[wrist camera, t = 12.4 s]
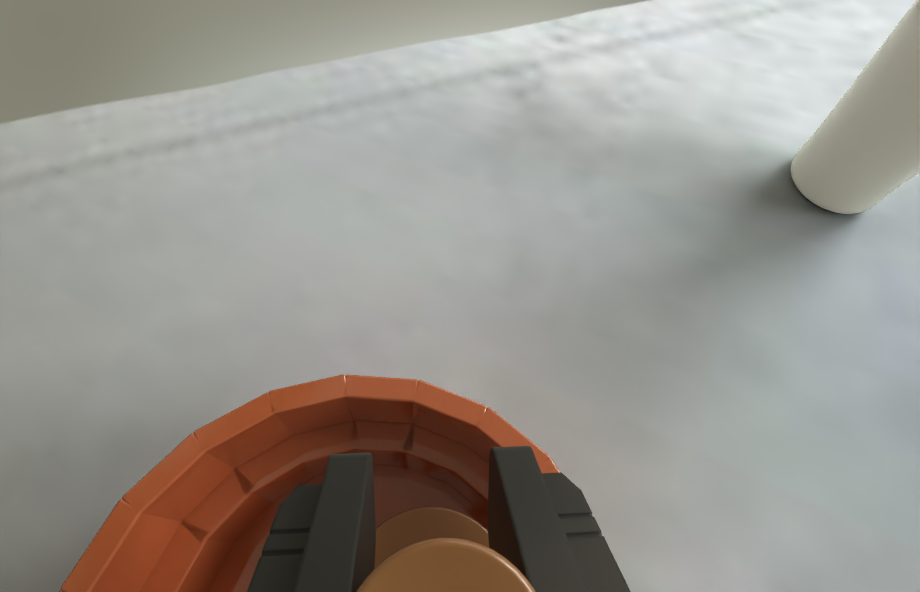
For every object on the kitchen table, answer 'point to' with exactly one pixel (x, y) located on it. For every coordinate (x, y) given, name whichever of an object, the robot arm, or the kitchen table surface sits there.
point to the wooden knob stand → (439, 556)
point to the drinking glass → (868, 130)
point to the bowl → (291, 478)
